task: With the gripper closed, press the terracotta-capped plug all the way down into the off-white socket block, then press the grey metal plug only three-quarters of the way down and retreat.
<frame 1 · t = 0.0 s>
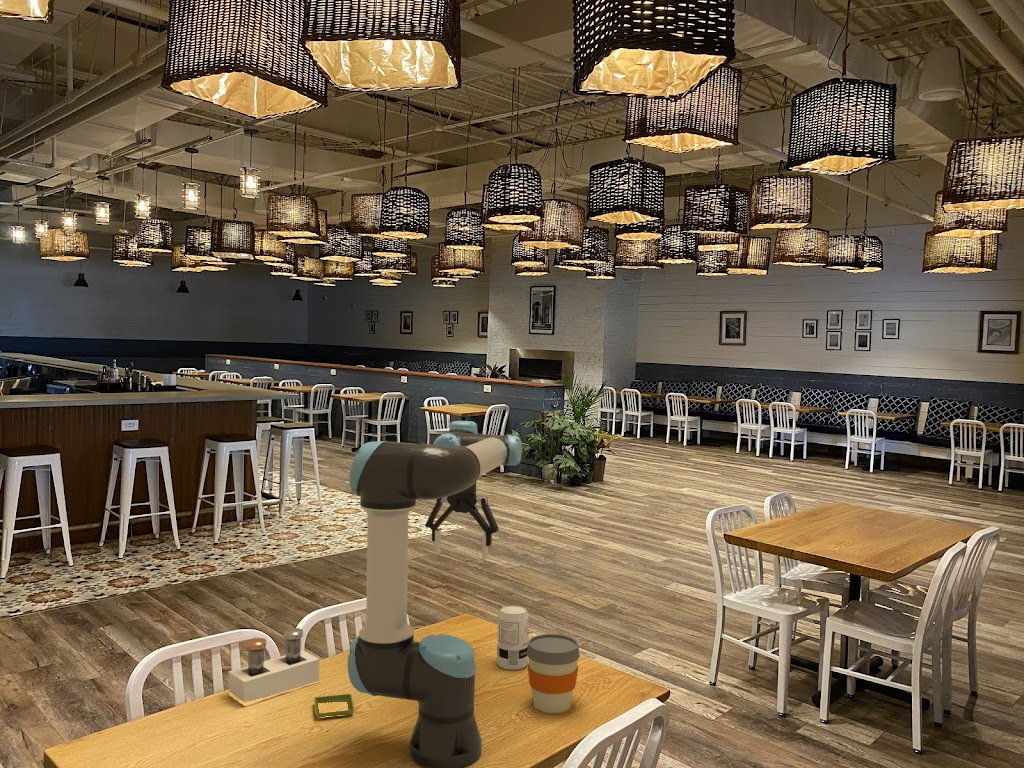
hand: (461, 555, 217), 28 cm above the table, fingers open, 13 cm apart
terracotta plug: (256, 658, 192), point 9 cm above the table, slide at 0.0 cm
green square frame: (333, 713, 185), on the table
reusable coffee cup: (551, 705, 191), on the table
socket block: (274, 689, 196), on the table
grey plug: (293, 647, 199), point 9 cm above the table, slide at 0.0 cm
supplement can: (512, 665, 214), on the table
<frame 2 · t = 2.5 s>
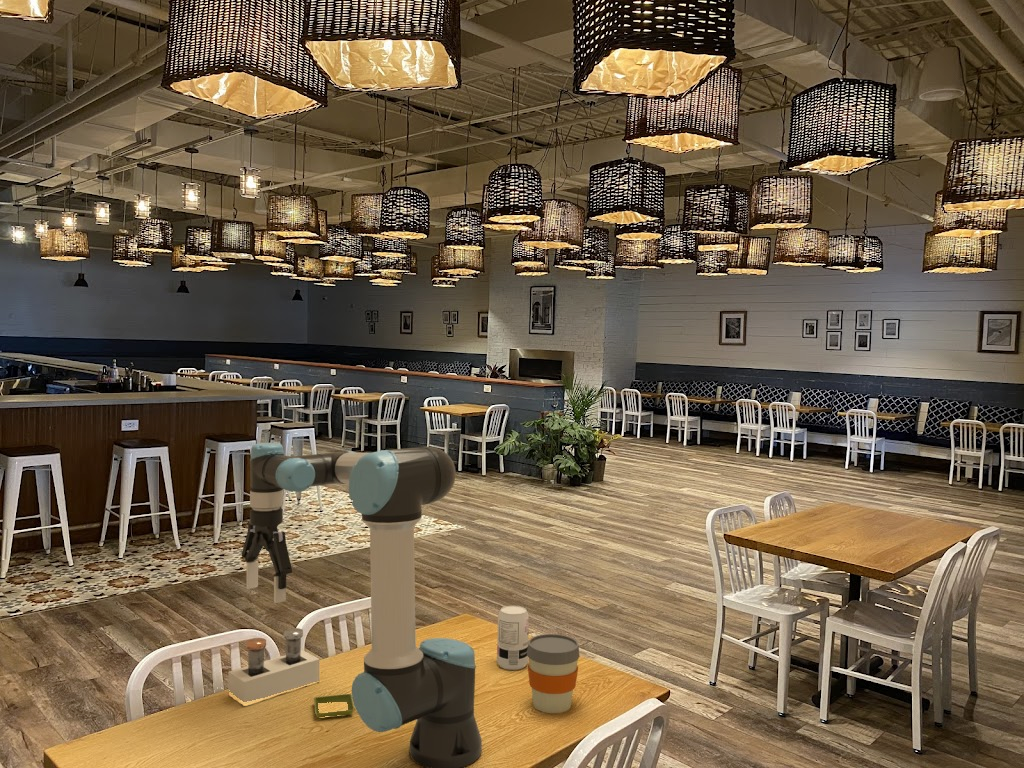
hand: (265, 594, 193), 24 cm above the table, fingers open, 13 cm apart
nothing on the table moved.
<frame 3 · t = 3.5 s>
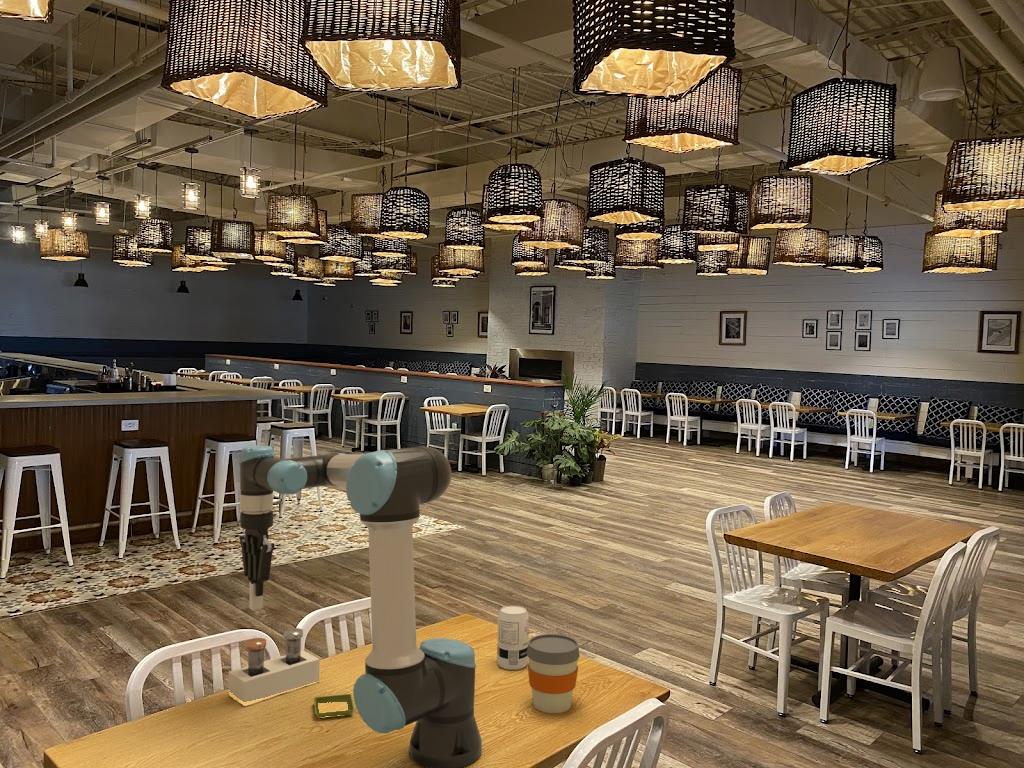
hand: (256, 608, 191), 21 cm above the table, fingers closed
nothing on the table moved.
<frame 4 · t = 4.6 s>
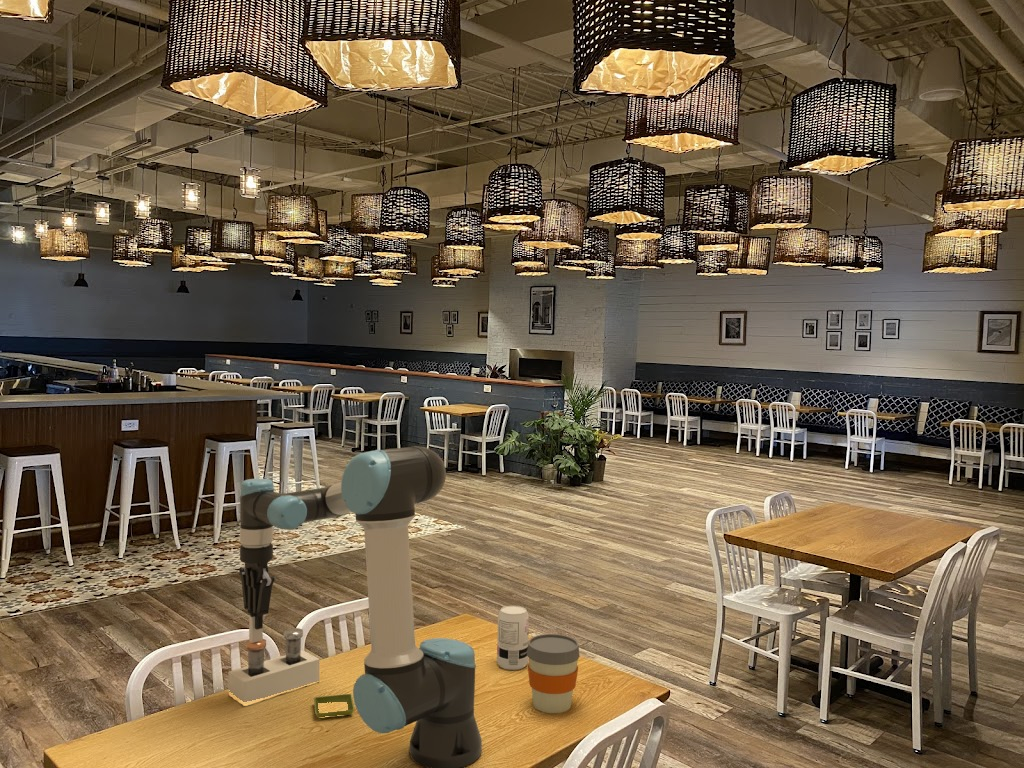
hand: (255, 640, 192), 13 cm above the table, fingers closed
terracotta plug: (256, 658, 192), point 9 cm above the table, slide at 0.1 cm, touching gripper
everything else where it was.
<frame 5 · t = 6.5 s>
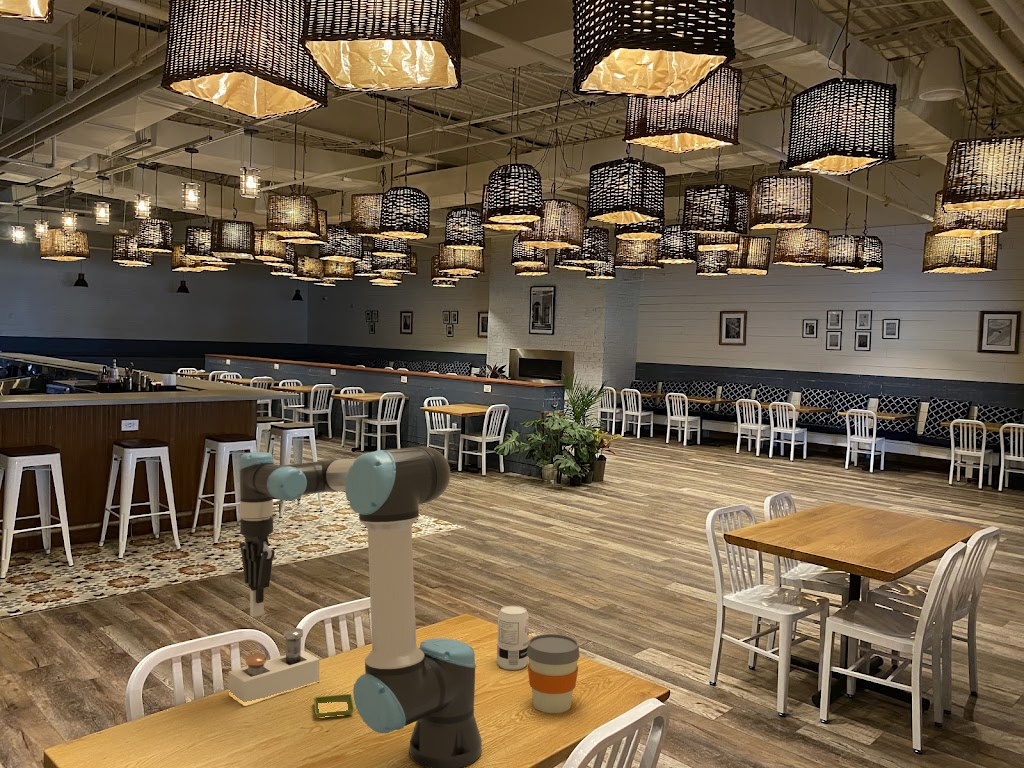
hand: (256, 614, 191), 20 cm above the table, fingers closed
terracotta plug: (256, 674, 192), point 5 cm above the table, slide at 4.0 cm
everything else where it was.
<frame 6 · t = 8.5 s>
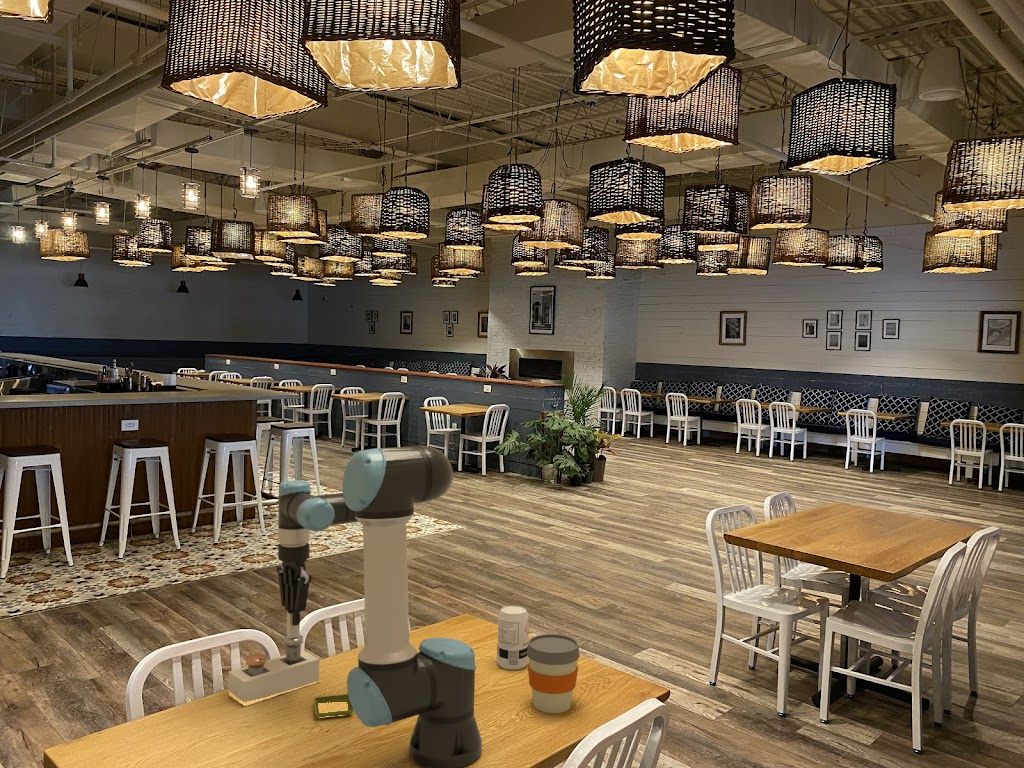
hand: (293, 636, 199), 12 cm above the table, fingers closed
grey plug: (293, 653, 199), point 7 cm above the table, slide at 1.6 cm, touching gripper
everything else where it was.
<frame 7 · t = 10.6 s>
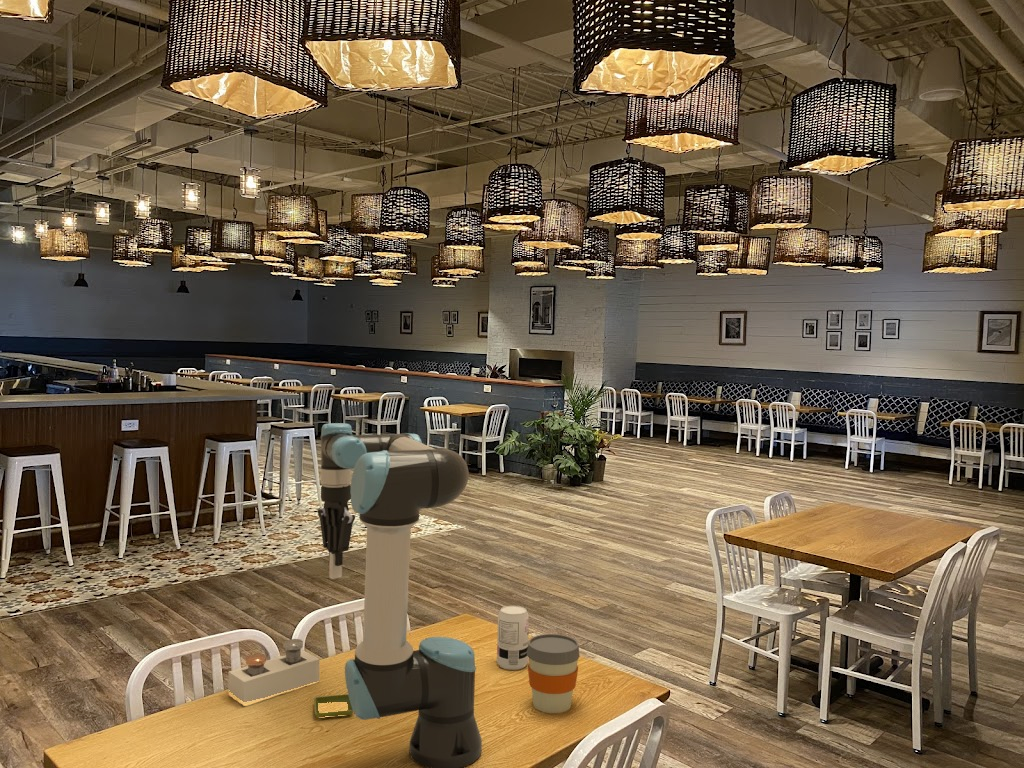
hand: (335, 577, 202), 26 cm above the table, fingers closed
grey plug: (293, 658, 199), point 6 cm above the table, slide at 2.8 cm
everything else where it was.
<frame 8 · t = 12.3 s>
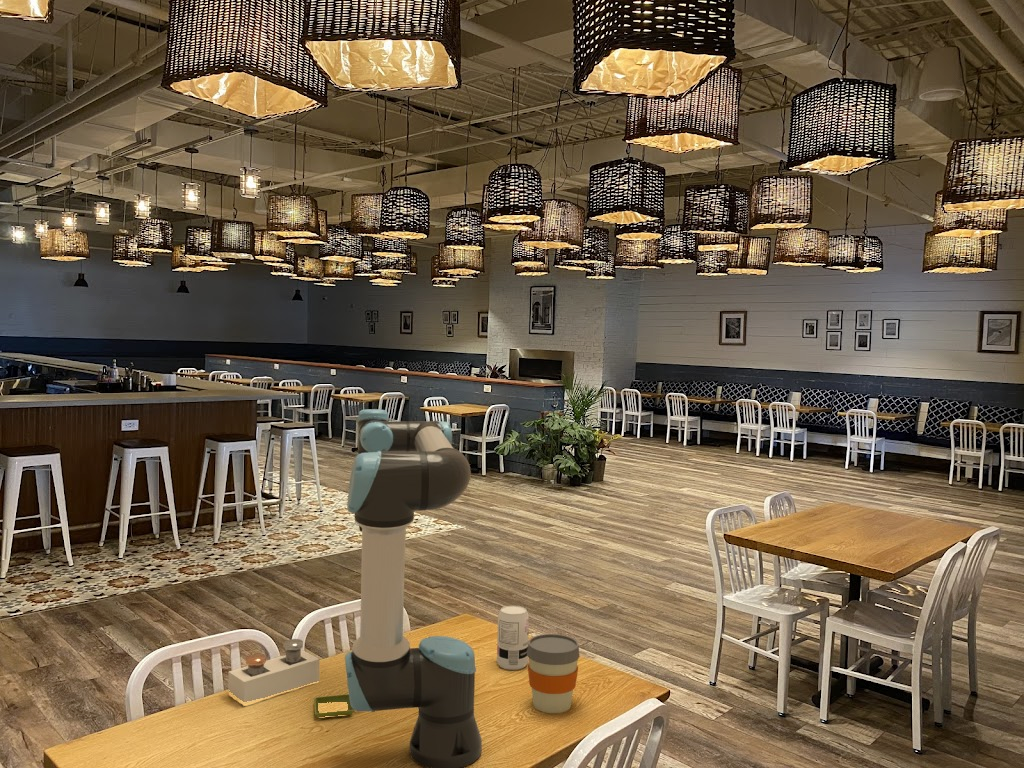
hand: (371, 560, 205), 29 cm above the table, fingers closed
nothing on the table moved.
at the end: terracotta plug slide at 4.0 cm; grey plug slide at 2.8 cm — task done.
